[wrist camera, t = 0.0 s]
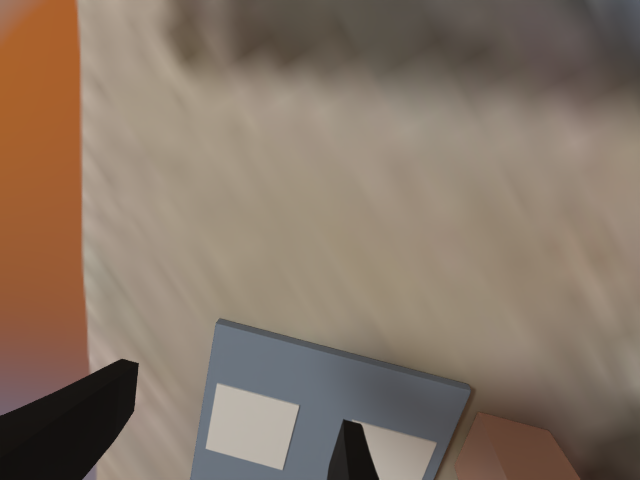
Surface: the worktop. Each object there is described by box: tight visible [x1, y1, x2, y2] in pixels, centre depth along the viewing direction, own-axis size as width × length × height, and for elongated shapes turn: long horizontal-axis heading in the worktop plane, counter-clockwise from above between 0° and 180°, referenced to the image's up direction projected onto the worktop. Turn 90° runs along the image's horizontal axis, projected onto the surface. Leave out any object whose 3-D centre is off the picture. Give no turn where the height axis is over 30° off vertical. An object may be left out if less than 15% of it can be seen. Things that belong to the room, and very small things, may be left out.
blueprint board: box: [190, 319, 471, 480], centre depth 24 cm, size 14×16×1 cm
